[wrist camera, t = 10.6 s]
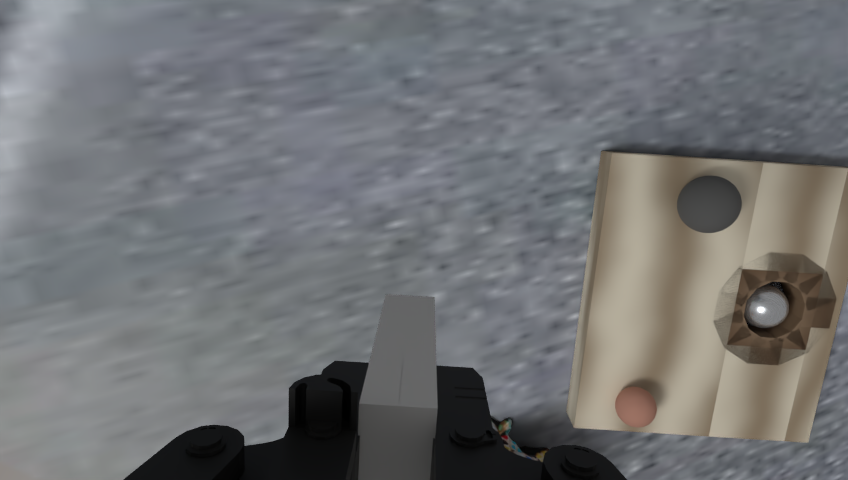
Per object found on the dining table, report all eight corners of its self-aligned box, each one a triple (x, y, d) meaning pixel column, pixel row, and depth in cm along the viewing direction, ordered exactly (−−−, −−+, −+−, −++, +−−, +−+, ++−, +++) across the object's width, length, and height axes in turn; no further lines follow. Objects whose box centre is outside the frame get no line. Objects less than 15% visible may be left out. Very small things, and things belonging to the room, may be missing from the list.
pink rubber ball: (612, 378, 43) (626, 397, 40) (650, 380, 43) (666, 400, 40) (607, 413, 44) (620, 434, 41) (644, 415, 44) (660, 436, 41)
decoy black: (672, 170, 39) (698, 176, 36) (727, 174, 39) (760, 180, 36) (663, 225, 40) (688, 236, 36) (717, 228, 40) (748, 240, 36)
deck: (566, 411, 46) (573, 427, 44) (601, 150, 42) (612, 152, 39) (788, 425, 47) (808, 442, 44) (848, 167, 42) (875, 170, 39)
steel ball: (740, 275, 44) (739, 289, 41) (790, 281, 43) (793, 296, 40) (736, 314, 45) (734, 330, 42) (785, 321, 43) (786, 338, 41)
